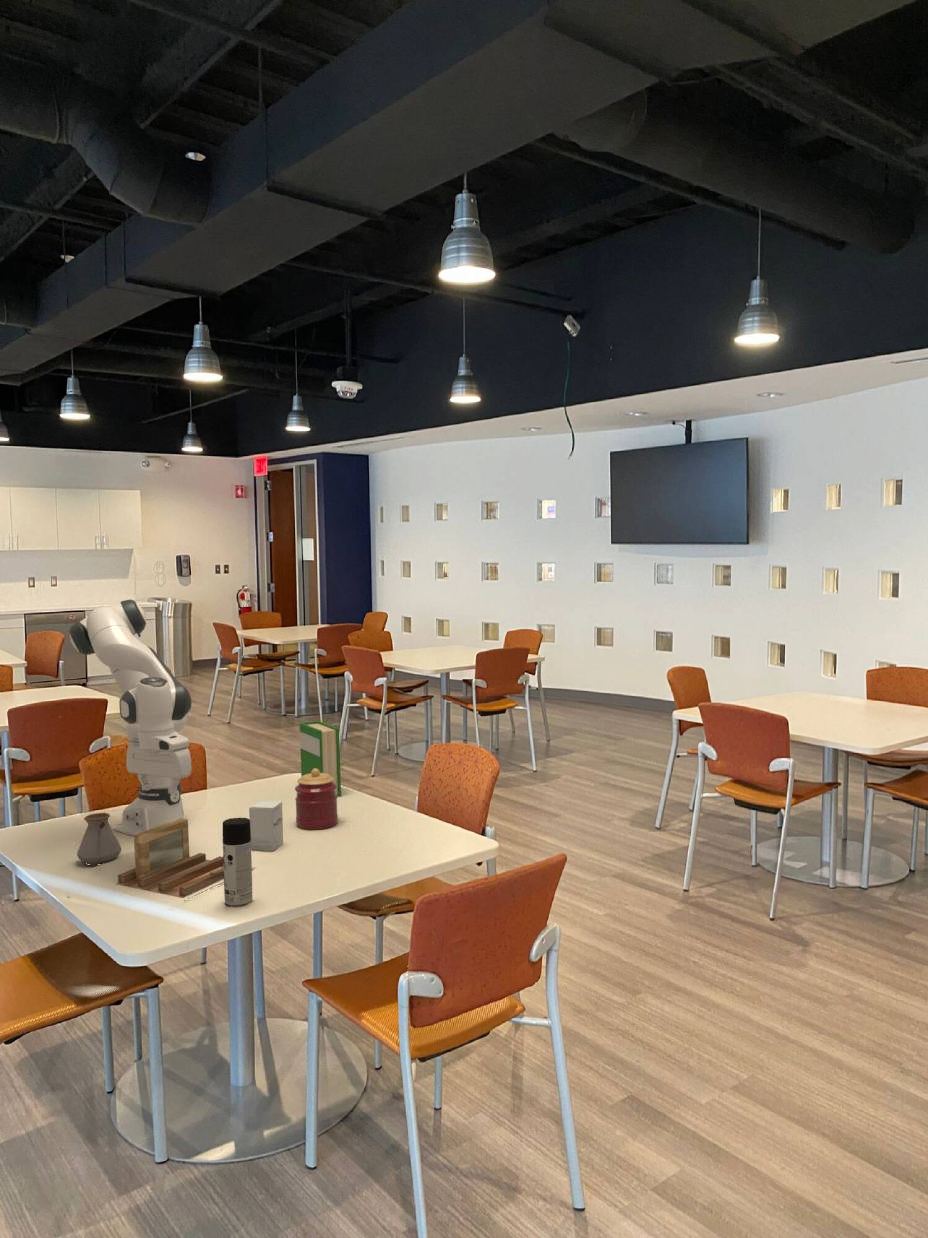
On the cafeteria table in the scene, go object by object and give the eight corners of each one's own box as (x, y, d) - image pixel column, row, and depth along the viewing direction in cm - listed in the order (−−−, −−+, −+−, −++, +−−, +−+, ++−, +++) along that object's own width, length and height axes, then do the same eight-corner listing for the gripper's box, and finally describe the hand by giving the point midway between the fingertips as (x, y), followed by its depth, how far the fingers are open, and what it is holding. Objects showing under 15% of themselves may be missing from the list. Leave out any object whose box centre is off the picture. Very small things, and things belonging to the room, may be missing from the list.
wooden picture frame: (135, 880, 235) (133, 834, 234) (181, 861, 249) (179, 818, 248) (144, 882, 234) (142, 836, 233) (189, 863, 248) (187, 819, 247)
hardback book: (341, 796, 317) (339, 728, 315) (321, 800, 313) (319, 730, 311) (321, 786, 332) (318, 721, 330) (301, 789, 328) (299, 723, 326)
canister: (330, 831, 277) (329, 774, 276) (290, 830, 279) (288, 773, 278) (343, 818, 290) (341, 764, 289) (304, 817, 292) (302, 763, 291)
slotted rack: (115, 887, 233) (114, 874, 233) (184, 859, 254) (183, 846, 254) (182, 902, 222) (182, 887, 222) (248, 870, 244) (247, 857, 243)
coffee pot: (75, 859, 256) (73, 806, 255) (119, 852, 262) (116, 800, 261) (82, 882, 237) (79, 826, 236) (128, 874, 243) (126, 819, 242)
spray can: (227, 897, 225) (224, 817, 224) (255, 895, 226) (252, 816, 224) (222, 907, 218) (219, 825, 217) (251, 906, 219) (248, 824, 218)
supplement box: (274, 851, 259) (272, 808, 258) (249, 850, 261) (248, 807, 260) (284, 843, 266) (282, 801, 266) (260, 842, 268) (258, 800, 267)
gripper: (118, 739, 241) (121, 791, 242) (176, 745, 232) (179, 798, 232) (137, 735, 247) (140, 785, 248) (194, 740, 237) (196, 792, 238)
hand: (159, 792), depth 240 cm, fingers open, 8 cm apart
